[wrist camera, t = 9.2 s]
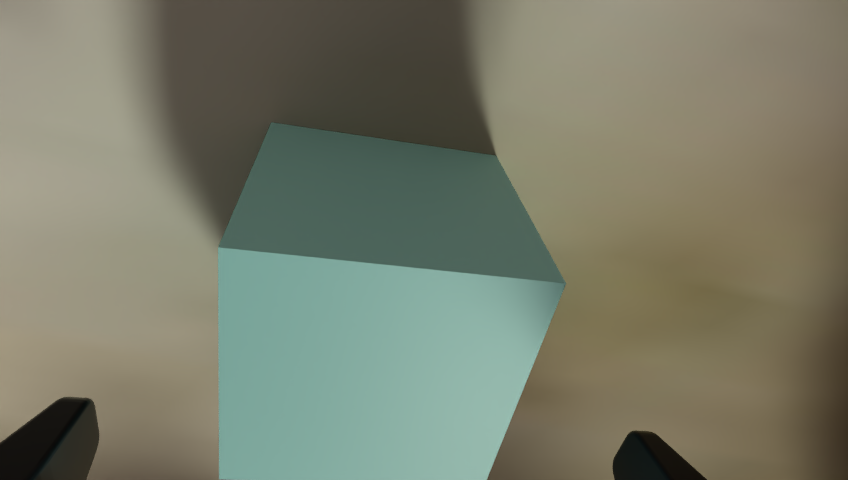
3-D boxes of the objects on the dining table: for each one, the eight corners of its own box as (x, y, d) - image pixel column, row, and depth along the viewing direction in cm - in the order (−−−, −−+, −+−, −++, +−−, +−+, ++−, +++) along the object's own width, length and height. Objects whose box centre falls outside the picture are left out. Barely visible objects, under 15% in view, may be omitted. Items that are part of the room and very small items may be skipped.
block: (448, 321, 16) (483, 486, 12) (262, 305, 15) (219, 479, 11) (495, 154, 13) (565, 283, 9) (271, 121, 12) (218, 246, 8)
